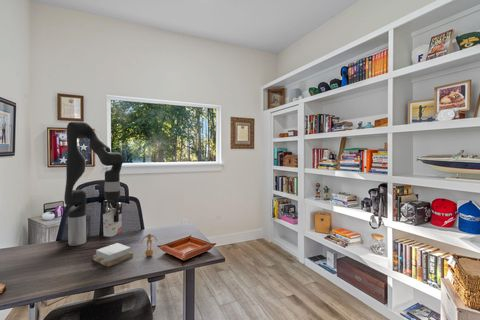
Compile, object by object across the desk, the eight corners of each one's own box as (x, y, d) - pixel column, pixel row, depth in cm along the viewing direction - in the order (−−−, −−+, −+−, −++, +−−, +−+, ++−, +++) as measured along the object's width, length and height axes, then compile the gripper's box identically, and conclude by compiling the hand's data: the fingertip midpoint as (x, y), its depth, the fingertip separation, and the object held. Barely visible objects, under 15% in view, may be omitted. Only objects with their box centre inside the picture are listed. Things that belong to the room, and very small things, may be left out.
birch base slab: (93, 261, 132) (92, 255, 131) (117, 252, 144) (117, 246, 143) (108, 268, 124) (108, 262, 124) (133, 257, 136) (133, 252, 136)
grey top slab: (96, 255, 132) (96, 250, 132) (117, 247, 142) (117, 242, 142) (109, 261, 126) (109, 255, 125) (130, 252, 136) (130, 247, 136)
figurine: (140, 258, 134) (140, 236, 133) (141, 253, 140) (141, 232, 139) (157, 256, 137) (157, 235, 136) (157, 252, 142) (157, 231, 142)
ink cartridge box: (114, 230, 138) (114, 204, 137) (122, 231, 137) (121, 205, 136) (102, 236, 130) (102, 208, 129) (111, 237, 128) (110, 209, 128)
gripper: (97, 189, 133) (98, 220, 133) (113, 192, 125) (113, 225, 126) (111, 187, 139) (111, 217, 140) (127, 190, 131) (127, 221, 132)
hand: (112, 220), depth 133 cm, fingers closed on ink cartridge box, 6 cm apart
